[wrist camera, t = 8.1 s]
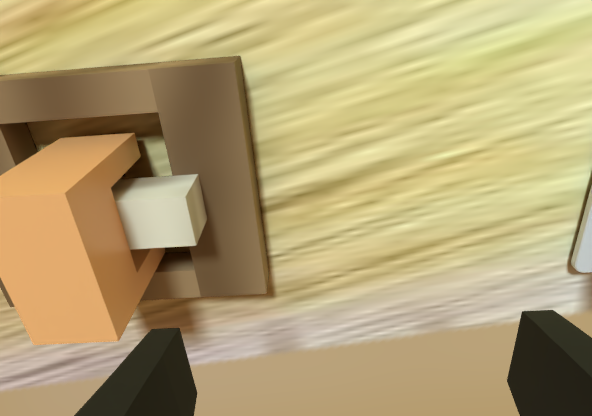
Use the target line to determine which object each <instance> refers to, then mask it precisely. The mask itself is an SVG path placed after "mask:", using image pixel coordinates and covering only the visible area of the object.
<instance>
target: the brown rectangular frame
mask: <svg viewBox="0 0 592 416" xmlns="http://www.w3.org/2000/svg"><path fill="white" fill-rule="evenodd" d="M154 112H158V114H159V118H160V123H161V127H162V131H163V136H164V140H165V144H166V149H167V153H168V157H169V162H170V166H171V170H172V174H173V176H162V177H147V178H133V179H119V180H118V181H117V182H116V183H115V184H114V185H113V186H112V187H111V190H112V193H113V196H114V200H115V203H116V206H117V209H118V213H119V216H120V219H121V222H122V226H123V229H124V232H125V235H126V239H127V242H128V245H129V248H130V249H148V248H165V247H182V246H189V248H190V252H180V253H164V255H163V257H162V259H161V261H160V263H159V265H158V267H157V269H156V271H155V273H154V275H153V276H152V278H151V280H150V282H149V284H148V286H147V288H146V290H145V292H144V294H143V296H142V298H141V299H140V300H156V299H175V298H195V297H214V296H233V295H253V294H267V286H268V278H269V270H268V262H267V255H266V247H265V240H264V232H263V225H262V217H261V210H260V202H259V195H258V187H257V179H256V172H255V164H254V157H253V149H252V142H251V134H250V127H249V119H248V112H247V104H246V97H245V89H244V82H243V74H242V67H241V59H240V56H233V57H220V58H208V59H196V60H183V61H171V62H158V63H146V64H134V65H121V66H109V67H97V68H84V69H72V70H60V71H47V72H35V73H23V74H10V75H0V176H1V175H2V174H4V173H5V172H7V171H9V170H10V169H12V168H13V167H15V166H17V165H18V164H20V163H21V162H23V161H25V160H26V159H28V158H29V157H31V156H33V155H34V154H36V153H37V150H36V147H35V145H34V142H33V140H32V137H31V134H30V132H29V129H28V127H27V124H26V122H34V121H47V120H61V119H74V118H88V117H101V116H114V115H128V114H141V113H154ZM0 288H1V290H2V292H3V294H4V296H5V298H6V300H7V302H8V303H9V305H10V307H15V306H14V304H13V302H12V300H11V298H10V296H9V294H8V292H7V290H6V288H5V286H4V284H3V282H2V280H1V278H0Z"/></svg>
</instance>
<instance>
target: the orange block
mask: <svg viewBox="0 0 592 416" xmlns="http://www.w3.org/2000/svg"><path fill="white" fill-rule="evenodd" d="M140 157H141V156H140V152H139V148H138V144H137V140H136V136H135V133H124V134H109V135H95V136H81V137H66V138H60V139H58V140H57V141H55V142H53V143H52V144H50V145H49V146H47V147H45V148H44V149H42V150H41V151H39V152H37V153H36V154H34V155H33V156H31V157H29V158H28V159H26V160H25V161H23V162H21V163H20V164H18V165H17V166H15V167H13V168H12V169H10V170H9V171H7V172H5V173H4V174H2V175H1V176H0V278H1V280H2V282H3V284H4V286H5V288H6V290H7V292H8V294H9V296H10V298H11V300H12V302H13V304H14V306H15V308H16V310H17V312H18V314H19V316H20V318H21V320H22V322H23V324H24V326H25V328H26V330H27V332H28V334H29V336H30V338H31V340H32V342H33V344H34V345H43V344H65V343H87V342H110V341H119V340H120V338H121V336H122V334H123V332H124V330H125V328H126V326H127V324H128V322H129V321H130V319H131V317H132V315H133V313H134V311H135V309H136V307H137V305H138V303H139V301H140V299H141V298H142V296H143V294H144V292H145V290H146V288H147V286H148V284H149V282H150V280H151V278H152V276H153V275H154V273H155V271H156V269H157V267H158V265H159V263H160V261H161V259H162V257H163V255H164V253H165V252H166V251H165V248H148V249H130V248H129V245H128V242H127V239H126V235H125V232H124V229H123V226H122V222H121V219H120V216H119V213H118V209H117V206H116V203H115V200H114V196H113V193H112V190H111V187H112V186H113V185H114V184H115V183H116V182H117V181H118V180H119V179H120V178H121V177H122V176H123V175H124V174H125V172H126V171H127V170H128V169H129V168H130V167H131V166H132V165H133V164H134V163H135V162H136V161H137V160H138V159H139V158H140Z"/></svg>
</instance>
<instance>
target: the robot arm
mask: <svg viewBox="0 0 592 416" xmlns="http://www.w3.org/2000/svg"><path fill="white" fill-rule="evenodd" d="M571 265H572V266H573V267H574V268H575V270H576V271H578V272H581V273H589V272H592V186H591V189H590V193H589V197H588V200H587V204H586V208H585V212H584V215H583V219H582V223H581V226H580V230H579V234H578V237H577V241H576V245H575V249H574V252H573V256H572V260H571ZM507 382H508V385H509V387H510V390H511V393H512V396H513V398H514V401H515V404H516V406H517V409H518V412H519V414H520V416H592V338H591V337H590V336H588V335H587V334H586V333H584V332H583V331H581V330H580V329H579V328H577V327H576V326H575V325H573V324H572V323H570V322H569V321H568V320H566V319H565V318H564V317H562V316H561V315H559V314H558V313H556V312H555V311H553V310H543V311H522V315H521V319H520V324H519V328H518V333H517V338H516V342H515V347H514V351H513V356H512V360H511V365H510V370H509V374H508V379H507ZM196 398H197V390H196V387H195V384H194V380H193V376H192V372H191V369H190V365H189V361H188V358H187V354H186V350H185V347H184V343H183V339H182V336H181V332H180V328H168V329H152V330H151V331H150V332H149V333H148V334H147V335H146V336H145V337H144V338H143V339H142V341H141V342H140V343H139V344H138V345H137V346H136V347H135V348H134V350H133V351H132V352H131V353H130V354H129V355H128V356H127V357H126V359H125V360H124V361H123V362H122V363H121V364H120V365H119V367H118V368H117V369H116V370H115V371H114V372H113V373H112V375H111V376H110V377H109V378H108V379H107V380H106V381H105V383H104V384H103V385H102V386H101V387H100V388H99V389H98V390H97V391H96V392H95V394H94V395H93V396H92V397H91V398H90V399H89V400H88V401H87V402H86V403H85V404H84V406H83V407H82V408H81V409H80V410H79V411H78V412H77V413H76V414H75V415H74V416H194V410H195V404H196Z"/></svg>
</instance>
